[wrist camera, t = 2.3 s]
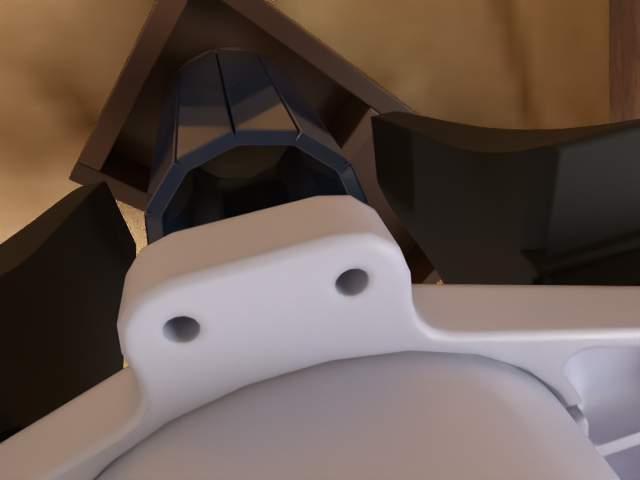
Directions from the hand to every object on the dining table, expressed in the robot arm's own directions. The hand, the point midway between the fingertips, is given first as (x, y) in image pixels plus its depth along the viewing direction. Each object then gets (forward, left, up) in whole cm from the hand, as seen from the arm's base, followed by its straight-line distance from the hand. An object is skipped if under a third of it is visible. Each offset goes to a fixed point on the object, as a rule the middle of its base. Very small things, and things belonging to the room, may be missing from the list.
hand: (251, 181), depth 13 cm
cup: (0, 0, -5) cm, 5 cm away
